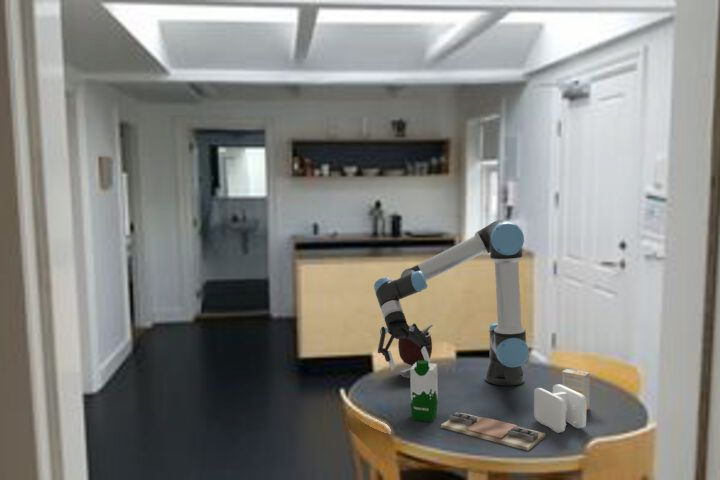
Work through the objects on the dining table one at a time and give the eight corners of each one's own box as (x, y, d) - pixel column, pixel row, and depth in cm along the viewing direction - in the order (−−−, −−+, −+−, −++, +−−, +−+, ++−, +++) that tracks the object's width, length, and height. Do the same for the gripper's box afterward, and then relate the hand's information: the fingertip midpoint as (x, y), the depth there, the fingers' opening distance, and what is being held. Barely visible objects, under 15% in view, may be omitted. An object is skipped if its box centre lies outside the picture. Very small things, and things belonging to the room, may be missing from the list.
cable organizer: (531, 419, 212) (531, 385, 210) (557, 414, 215) (558, 381, 214) (560, 436, 198) (561, 400, 196) (588, 430, 201) (588, 395, 200)
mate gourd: (410, 381, 253) (409, 332, 251) (392, 372, 266) (391, 325, 264) (442, 375, 261) (441, 327, 259) (423, 366, 273) (423, 321, 271)
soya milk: (408, 420, 213) (407, 362, 211) (415, 411, 221) (414, 355, 219) (434, 423, 210) (433, 364, 208) (439, 413, 218) (439, 357, 216)
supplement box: (590, 409, 220) (590, 372, 219) (583, 412, 216) (584, 375, 215) (567, 403, 226) (568, 367, 224) (561, 407, 222) (561, 370, 221)
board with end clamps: (441, 427, 206) (441, 418, 206) (461, 415, 216) (461, 406, 216) (528, 450, 187) (528, 441, 187) (545, 436, 198) (545, 427, 197)
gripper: (421, 318, 240) (439, 367, 228) (359, 324, 231) (375, 376, 219) (427, 307, 235) (446, 357, 222) (364, 313, 226) (381, 365, 214)
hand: (411, 366), depth 221 cm, fingers open, 13 cm apart
